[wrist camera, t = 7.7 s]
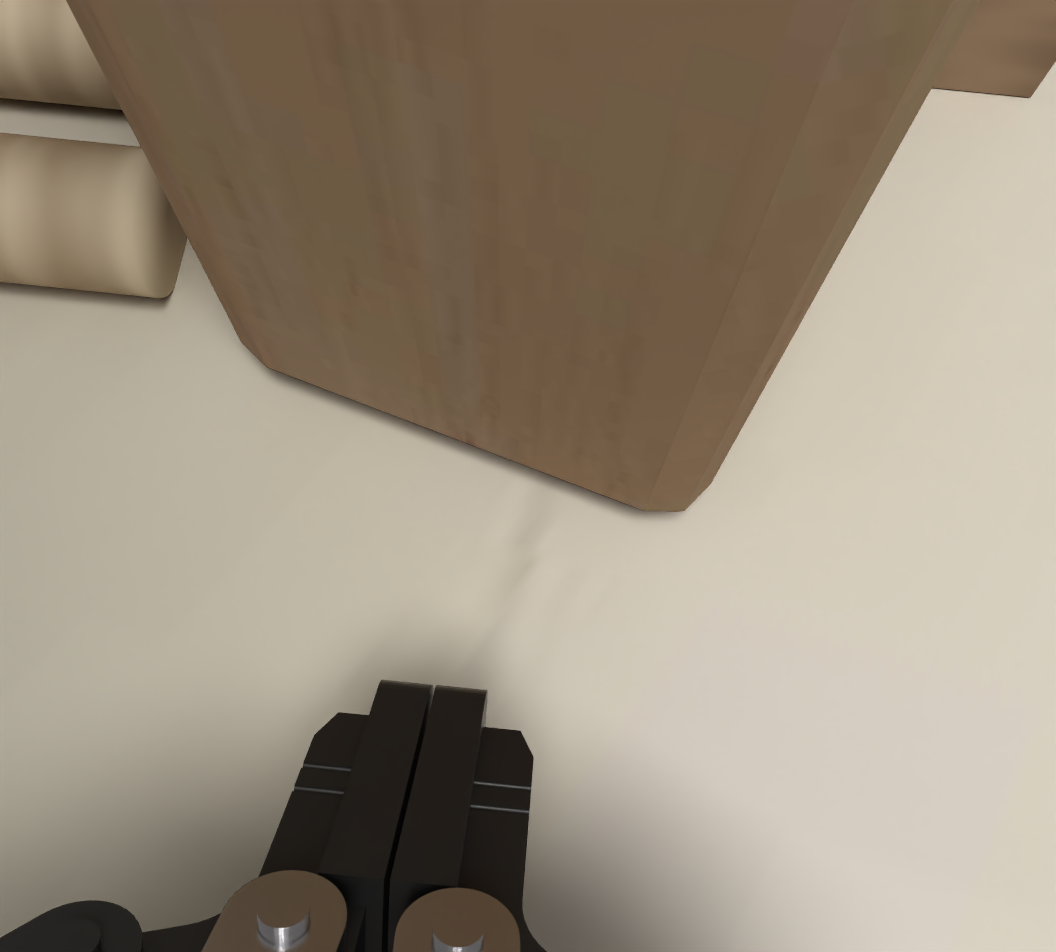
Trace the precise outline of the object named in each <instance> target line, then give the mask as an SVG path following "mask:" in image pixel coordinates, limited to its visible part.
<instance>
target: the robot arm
mask: <svg viewBox="0 0 1056 952" xmlns="http://www.w3.org/2000/svg"><path fill="white" fill-rule="evenodd" d="M486 707H487V690H479V689H469V688H459V687H450V686H440V685H437V686H436V688H435V691H434V695H433V685H428V684H418V683H408V682H399V681H389V680H381V681H380V683H379V686H378V689H377V692H376V695H375V698H374V701H373V705H372V708H371V711H370V714H369V715H359V714H349V713H340V712H339V713H338V714H336V715H335V716H334V717H333V718H332V719H331V720H330V721H329V722H328V723H327V724H326V725H325V726H323V727H322V728H321V729H320V730H319V731H318V732H317V733H316V734H315V735H314V737H313V740H312V742H311V745H310V747H309V750H308V752H307V755H306V758H305V760H304V764H303V768H301V770H300V773H299V775H298V778H297V781H296V783H295V788H294V791H292V793H291V796H290V798H289V801H288V804H287V806H286V809H285V811H284V814H283V816H282V819H281V821H280V824H279V827H278V829H277V832H276V834H275V837H274V839H273V842H272V844H271V847H270V850H269V852H268V855H267V857H266V860H265V862H264V865H263V867H262V870H261V873H260V875H259V877H258V878H256V879H254V880H252V881H250V882H249V883H247V884H246V885H244V886H243V887H241V888H240V889H239V890H238V891H237V892H236V893H235V894H234V895H233V896H232V897H231V898H230V899H229V901H228V902H227V904H226V905H225V907H224V909H223V911H222V913H221V914H218V915H216V916H214V917H212V918H210V919H207V920H204V921H201V922H198V923H194V924H189V925H184V926H179V927H173V928H167V929H161V930H155V931H149V932H143V933H142V930H141V928H140V925H139V922H138V921H137V920H136V918H135V917H134V915H132V914H131V913H130V912H129V911H128V910H127V909H125V908H123V907H121V906H119V905H116V904H113V903H110V902H105V901H80V902H74V903H70V904H66V905H62V906H60V907H57V908H54V909H52V910H50V911H48V912H46V913H44V914H42V915H40V916H38V917H36V918H34V919H33V920H31V921H29V922H27V923H26V924H24V925H22V926H20V927H19V928H17V929H15V930H13V931H12V932H10V933H8V934H6V935H5V936H3V937H1V938H0V952H546V951H545V950H544V949H543V948H542V947H541V946H540V945H539V944H538V943H537V941H536V940H535V939H534V938H533V936H532V935H531V933H530V931H529V930H528V927H527V925H526V922H525V920H524V916H523V911H522V897H523V885H524V872H525V859H526V846H527V834H528V821H529V808H530V796H531V783H532V770H533V755H532V753H531V751H530V749H529V747H528V745H527V743H526V741H525V739H524V737H523V735H522V733H521V731H517V730H507V729H497V728H488V727H485V720H486Z"/></svg>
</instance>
